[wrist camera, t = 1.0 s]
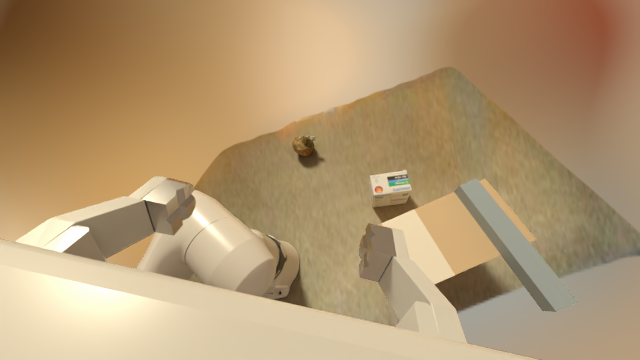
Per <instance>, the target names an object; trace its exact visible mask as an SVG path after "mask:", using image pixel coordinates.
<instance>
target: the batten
mask: <svg viewBox="0 0 640 360" xmlns="http://www.w3.org/2000/svg"><path fill="white" fill-rule="evenodd" d="M455 194H456V195H457V196H458V198H459V199H460V200H461V202H462V203H463V204H464V206H465V207H466V208H467V210H468V211H469V212H470V214H471V215H472V217H473V218H474V219H475V221H476V222H477V223H478V225H479V226H480V227H481V229H482V230H483V231H484V233H485V234H486V235H487V237H488V238H489V239H490V241H491V242H492V243H493V245H494V246H495V247H496V249H497V250H498V251H499V253H500V254H501V256H502V257H503V258H504V260H505V261H506V262H507V264H508V265H509V266H510V268H511V269H512V270H513V272H514V273H515V274H516V276H517V277H518V278H519V280H520V281H521V282H522V284H523V285H524V286H525V288H526V289H527V291H528V292H529V293H530V294H531V296H532V297H533V299H534V300H535V301H536V302H537V304H538V305H539V307H540V308H541V309H542V310H543V311H554V312H557V311H559V310H561V309H563V308H566V307H568V306H570V305H572V304H575V303H577V302H578V301H577V300H576V299H575V297H574V296H573V295H572V294H571V293H570V292H569V290H568V289H567V288H566V287H565V285H564V284H563V283H562V282H561V280H560V279H559V278H558V277H557V275H556V274H555V273H554V272H553V271H552V269H551V268H550V267H549V266H548V265H547V263H546V262H545V261H544V260H543V258H542V257H541V256H540V255H539V254H538V252H537V251H536V250H535V249H534V248H533V246H532V245H531V244H530V243H529V241H528V240H527V239H526V238H525V237H524V235H523V234H522V233H521V232H520V230H519V229H518V228H517V227H516V226H515V224H514V223H513V222H512V221H511V220H510V218H509V217H508V216H507V215H506V213H505V212H504V211H503V210H502V209H501V207H500V206H499V205H498V204H497V203H496V201H495V200H494V199H493V198H492V196H491V195H490V194H489V193H488V192H487V190H486V189H485V188H484V187H483V185H482V184H481V183H480V182H479V181H478V179H477V178H476V179H474V180H472V181H470V182H467V183H465V184H463V185H460V186H459V187H458V188H457V189H456V191H455Z"/></svg>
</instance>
